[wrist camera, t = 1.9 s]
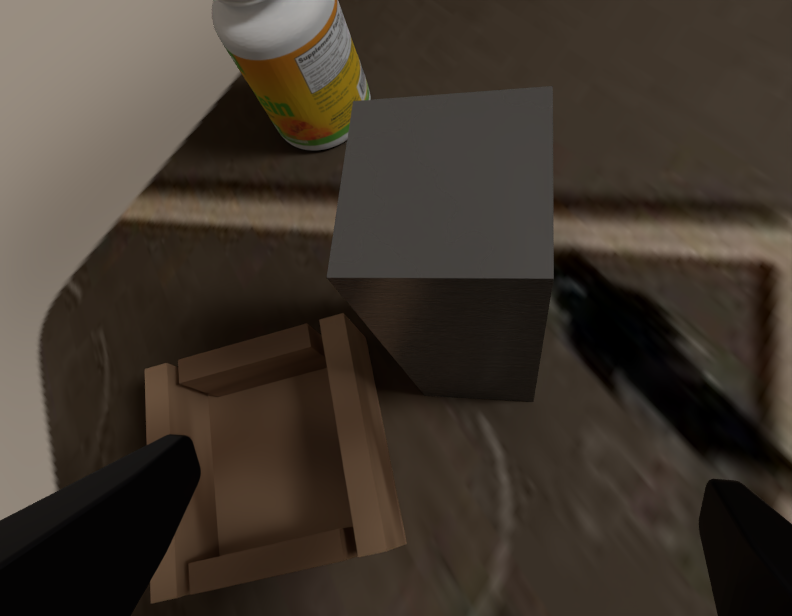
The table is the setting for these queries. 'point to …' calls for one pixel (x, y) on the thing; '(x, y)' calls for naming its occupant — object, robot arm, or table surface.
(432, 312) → the steel square block
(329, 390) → the wooden square frame
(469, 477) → the table surface
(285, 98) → the supplement bottle
